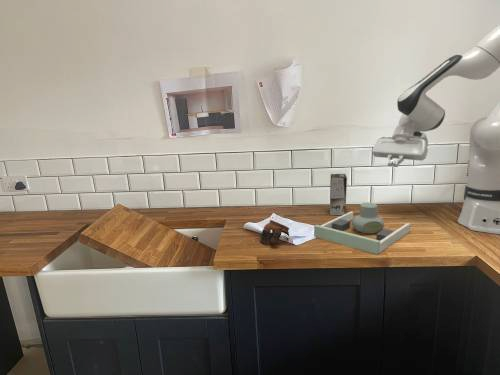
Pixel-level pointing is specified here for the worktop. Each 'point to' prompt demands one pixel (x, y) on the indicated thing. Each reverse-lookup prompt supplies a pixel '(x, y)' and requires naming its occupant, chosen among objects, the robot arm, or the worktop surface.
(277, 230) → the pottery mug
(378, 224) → the air freshener
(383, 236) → the blocks
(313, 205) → the worktop surface
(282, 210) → the worktop surface
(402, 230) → the frame
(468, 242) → the worktop surface
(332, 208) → the coffee box
